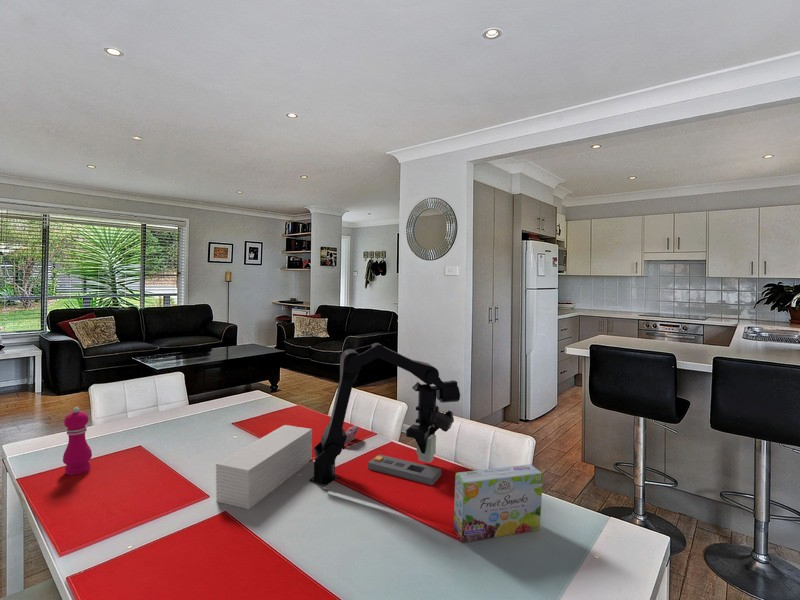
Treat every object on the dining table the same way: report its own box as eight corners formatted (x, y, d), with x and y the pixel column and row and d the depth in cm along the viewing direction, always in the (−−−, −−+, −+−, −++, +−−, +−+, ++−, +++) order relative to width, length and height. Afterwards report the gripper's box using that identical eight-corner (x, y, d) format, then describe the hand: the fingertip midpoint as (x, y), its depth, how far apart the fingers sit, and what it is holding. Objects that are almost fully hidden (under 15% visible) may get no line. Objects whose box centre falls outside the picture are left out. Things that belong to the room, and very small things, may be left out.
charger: (430, 464, 136) (431, 439, 135) (416, 460, 138) (416, 436, 137) (435, 459, 139) (436, 435, 139) (421, 455, 141) (421, 432, 141)
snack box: (462, 545, 100) (464, 482, 99) (452, 531, 105) (454, 471, 104) (541, 531, 106) (543, 471, 105) (528, 518, 111) (530, 462, 110)
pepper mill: (58, 472, 131) (56, 408, 130) (84, 463, 138) (82, 402, 136) (70, 478, 128) (68, 412, 127) (97, 468, 134) (95, 406, 133)
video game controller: (346, 451, 154) (355, 435, 153) (335, 445, 154) (344, 428, 153) (354, 441, 163) (362, 425, 162) (344, 435, 164) (352, 419, 163)
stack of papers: (284, 455, 147) (284, 424, 146) (311, 460, 143) (312, 428, 143) (216, 502, 117) (215, 463, 116) (248, 509, 113) (248, 470, 112)
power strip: (432, 488, 125) (432, 476, 125) (367, 471, 135) (367, 460, 135) (440, 478, 132) (441, 467, 131) (378, 463, 141) (378, 452, 141)
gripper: (439, 416, 125) (438, 467, 126) (460, 399, 142) (459, 445, 143) (405, 409, 130) (404, 459, 131) (429, 394, 147) (428, 439, 148)
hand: (426, 450), depth 138 cm, fingers closed on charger, 4 cm apart
